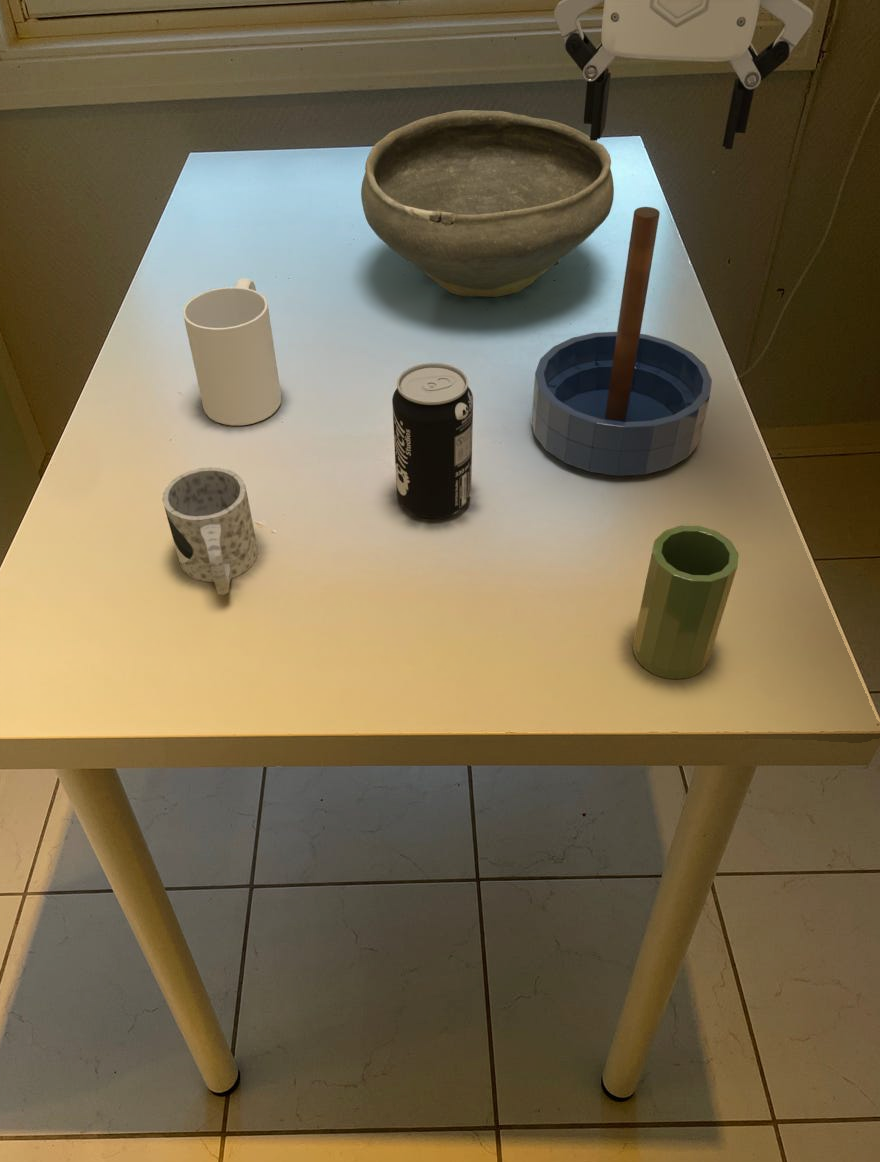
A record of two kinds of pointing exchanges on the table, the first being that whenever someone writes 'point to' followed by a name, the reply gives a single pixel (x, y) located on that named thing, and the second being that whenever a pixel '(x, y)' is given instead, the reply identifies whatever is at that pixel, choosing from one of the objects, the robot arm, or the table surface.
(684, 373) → the mixing bowl
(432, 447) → the beverage can
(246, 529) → the mug
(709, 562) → the utensil crock
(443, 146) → the bowl
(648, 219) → the cooking stick
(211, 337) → the mug
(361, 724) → the table surface
